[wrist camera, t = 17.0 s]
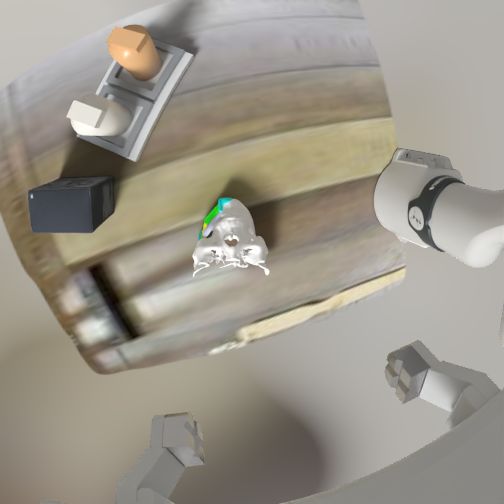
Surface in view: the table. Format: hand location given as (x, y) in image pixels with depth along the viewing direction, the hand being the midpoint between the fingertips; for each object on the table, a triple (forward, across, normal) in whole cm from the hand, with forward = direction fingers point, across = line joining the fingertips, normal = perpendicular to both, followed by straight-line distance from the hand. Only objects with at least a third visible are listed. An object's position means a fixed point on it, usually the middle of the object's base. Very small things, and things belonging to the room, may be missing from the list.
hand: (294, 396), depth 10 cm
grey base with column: (+37, +10, -20) cm, 43 cm away
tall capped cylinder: (+35, +7, -23) cm, 43 cm away
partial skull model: (+37, +1, +5) cm, 38 cm away
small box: (+37, +22, -7) cm, 44 cm away
